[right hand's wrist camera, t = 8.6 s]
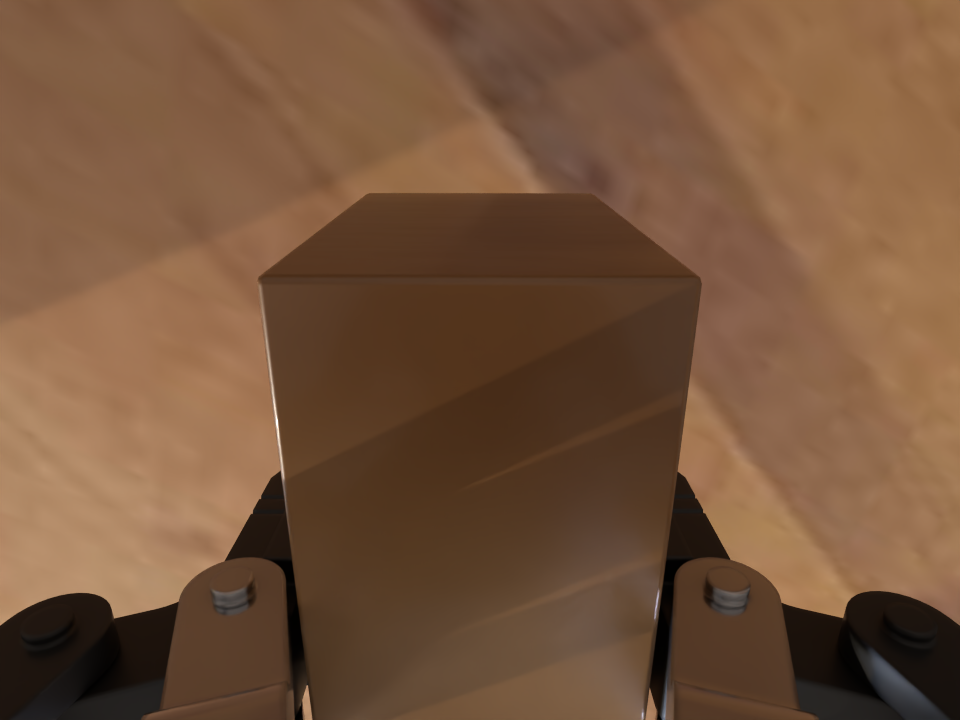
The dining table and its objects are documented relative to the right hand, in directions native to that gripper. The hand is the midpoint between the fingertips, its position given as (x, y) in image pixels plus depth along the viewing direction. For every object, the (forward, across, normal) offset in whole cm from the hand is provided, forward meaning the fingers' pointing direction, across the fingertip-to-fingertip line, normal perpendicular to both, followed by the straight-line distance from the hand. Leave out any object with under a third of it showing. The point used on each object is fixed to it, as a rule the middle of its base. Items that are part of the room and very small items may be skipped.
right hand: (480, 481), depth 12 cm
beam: (+2, 0, -20) cm, 20 cm away
